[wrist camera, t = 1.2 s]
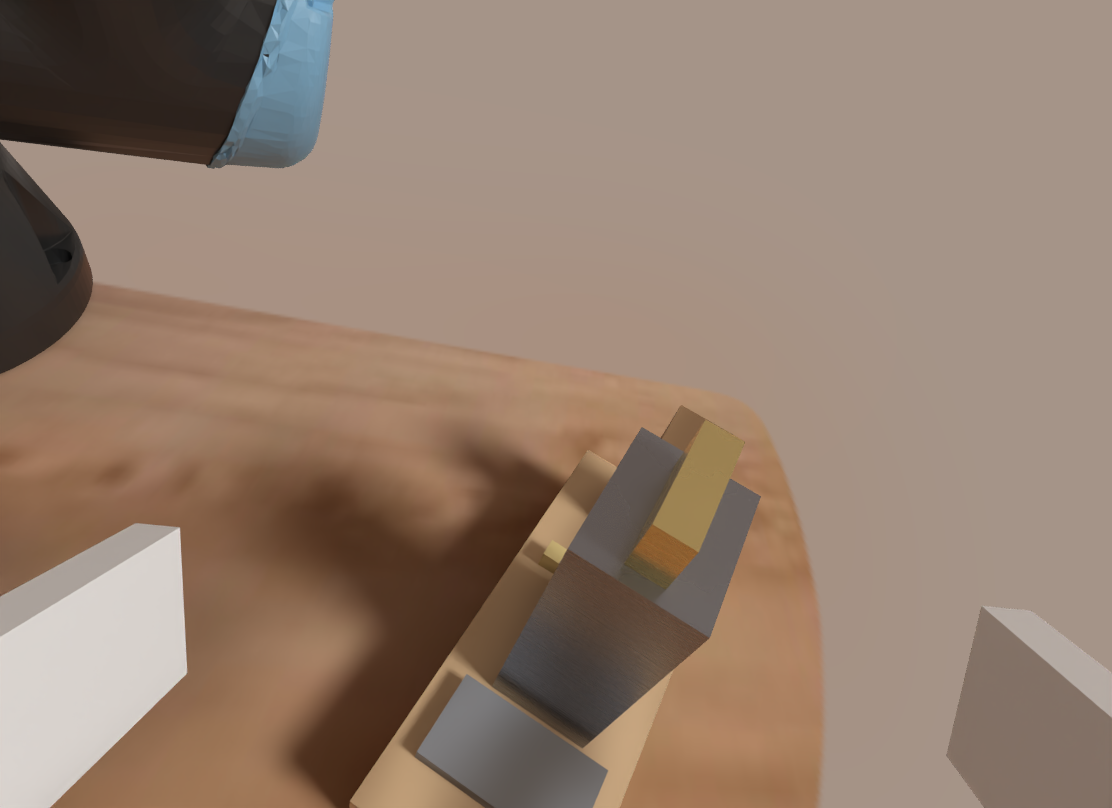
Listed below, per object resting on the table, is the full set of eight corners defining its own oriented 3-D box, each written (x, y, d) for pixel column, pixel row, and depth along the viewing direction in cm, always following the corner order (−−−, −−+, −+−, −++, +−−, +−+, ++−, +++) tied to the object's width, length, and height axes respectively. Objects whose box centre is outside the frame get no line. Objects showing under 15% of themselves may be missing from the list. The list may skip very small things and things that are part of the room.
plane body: (348, 820, 23) (352, 749, 15) (567, 491, 35) (634, 355, 27) (531, 958, 22) (639, 958, 14) (694, 569, 34) (802, 449, 26)
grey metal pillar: (491, 686, 24) (590, 507, 14) (553, 583, 27) (666, 383, 18) (582, 748, 23) (748, 604, 14) (634, 635, 27) (796, 456, 17)
